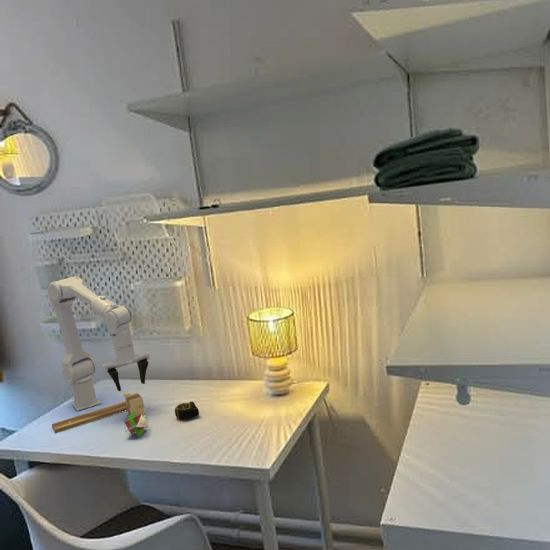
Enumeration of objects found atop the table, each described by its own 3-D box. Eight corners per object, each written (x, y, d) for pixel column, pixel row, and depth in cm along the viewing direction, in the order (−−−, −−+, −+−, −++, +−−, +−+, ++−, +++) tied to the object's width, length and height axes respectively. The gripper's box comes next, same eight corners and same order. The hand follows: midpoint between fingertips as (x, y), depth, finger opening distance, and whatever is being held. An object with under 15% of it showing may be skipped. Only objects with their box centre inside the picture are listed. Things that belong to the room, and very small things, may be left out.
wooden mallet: (122, 407, 198) (119, 390, 197) (134, 403, 200) (130, 386, 199) (133, 419, 187) (129, 401, 186) (145, 415, 189) (142, 397, 188)
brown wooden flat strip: (52, 426, 190) (51, 423, 190) (138, 400, 203) (137, 397, 203) (55, 433, 185) (54, 429, 185) (143, 405, 198) (142, 402, 197)
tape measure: (200, 418, 181) (198, 407, 180) (177, 424, 179) (175, 412, 178) (196, 410, 188) (194, 399, 187) (174, 416, 186) (172, 404, 185)
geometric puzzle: (115, 432, 174) (125, 412, 171) (127, 422, 180) (137, 402, 177) (135, 446, 173) (145, 426, 170) (146, 435, 179) (156, 415, 177)
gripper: (103, 354, 180) (111, 397, 182) (149, 341, 186) (157, 383, 189) (97, 349, 186) (105, 390, 188) (143, 337, 192) (150, 377, 195)
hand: (131, 386), depth 189 cm, fingers open, 7 cm apart
